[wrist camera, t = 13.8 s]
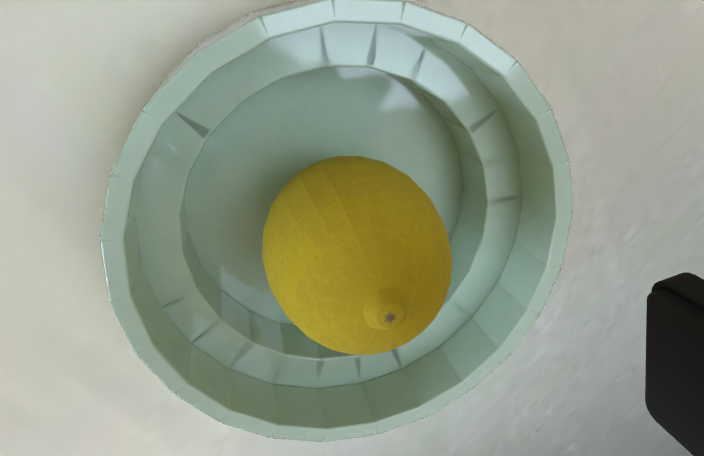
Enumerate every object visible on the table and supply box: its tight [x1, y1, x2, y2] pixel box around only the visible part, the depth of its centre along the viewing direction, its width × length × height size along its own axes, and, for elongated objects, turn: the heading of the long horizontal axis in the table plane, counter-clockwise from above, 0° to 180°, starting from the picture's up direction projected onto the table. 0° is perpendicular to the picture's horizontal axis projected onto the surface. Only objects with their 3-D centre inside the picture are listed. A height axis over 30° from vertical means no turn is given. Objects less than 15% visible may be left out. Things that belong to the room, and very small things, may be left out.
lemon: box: [262, 156, 452, 355], centre depth 17 cm, size 6×6×8 cm
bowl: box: [100, 0, 573, 442], centre depth 18 cm, size 14×14×5 cm
